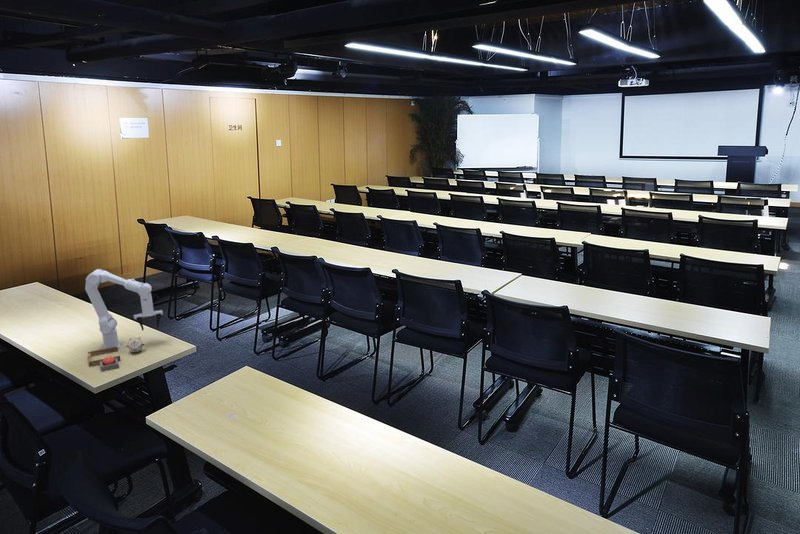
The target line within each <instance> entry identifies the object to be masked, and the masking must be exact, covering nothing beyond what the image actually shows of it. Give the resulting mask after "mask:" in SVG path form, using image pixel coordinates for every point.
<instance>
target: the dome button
mask: <svg viewBox="0 0 800 534" xmlns="http://www.w3.org/2000/svg"><path fill="white" fill-rule="evenodd" d="M102 359H103V363H104V366H105V365H110V364H114V363H115V361H114V356H110V355H108V356H106V357H104V358H102Z"/></svg>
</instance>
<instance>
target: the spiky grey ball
mask: <svg viewBox="0 0 800 534" xmlns="http://www.w3.org/2000/svg"><path fill="white" fill-rule="evenodd" d="M144 345H145V343H143V342H142V340H141V336H139V337H138V338H129V342H128V344H127V345H126V346H125V347H126V348H128V349H129V351H130V354H132V353H137V352H140V353H142V349H143V346H144Z"/></svg>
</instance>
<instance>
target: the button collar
mask: <svg viewBox="0 0 800 534" xmlns="http://www.w3.org/2000/svg"><path fill="white" fill-rule="evenodd" d="M114 361H115V363H114V364H110V365H105V366H104V363H103V361H100V365H99V367H100V370H101V371H102V372H107V371H111V369H112V370H115V369H119V368H120V365H119V361H118V360H117V358H114ZM106 370H107V371H106ZM101 371H100V372H101Z"/></svg>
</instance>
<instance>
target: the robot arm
mask: <svg viewBox="0 0 800 534" xmlns="http://www.w3.org/2000/svg"><path fill="white" fill-rule="evenodd" d="M107 282H111V283H113V284H118V285H120V286H123V287H124V288H125V289H126V290H128V291H131V292H134V293H137V294H138V295H139V297H140V306H141V311H142V312H141V313H137V314H133V318H134V320H136V321H137V322H138V324H139V325H140V328H141V331H144V324H143V323H144V322H143V319H144V318H147V317H153V316H155V320H156V321H155V322H156V328H157V329H159V326H160V321H161V318H162V315H164V314H163V313H164V312H163V310H162V309H160V310H154V303H153V297H152V290H153V286H152V285H151V284H149V283H148V282H145V283H144V282H142V281H141V282H140V281H138V280H137V281H136V279H134V278H129V279H126V278H123V277H120V276H118V275H116V274H113V273H111V272H109V271H107V270H104V269H101V268H97V269H95V270H94V271H93V272H90V273H89V274H88V275H87V276H86V278H85V288H84V289H85V293H86V294H87V296H88V297H89V300H90V303H91V304H92V307H93V308H94V311H95V313H96V315H97V316H98V325H99V329H98V330H99V331H100V333H101V334H102V340H103V341H102V342H103V344H102V347H103V349H105V348H111V347H116V346H117V347H118V349H119V348H121V344H120V342H119V339H118V337H119V336H118V330H117V328H116V327H117V326H118V320H116V319H115V318H114V316H113V315H112V314H110V313H109V311H108V309H107V306H106V304H105V302H104V300H103V298H102V296H101V293H100V292H99V290H98V287H99V285H100V284H101V283H107ZM142 318H143V319H142Z"/></svg>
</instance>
